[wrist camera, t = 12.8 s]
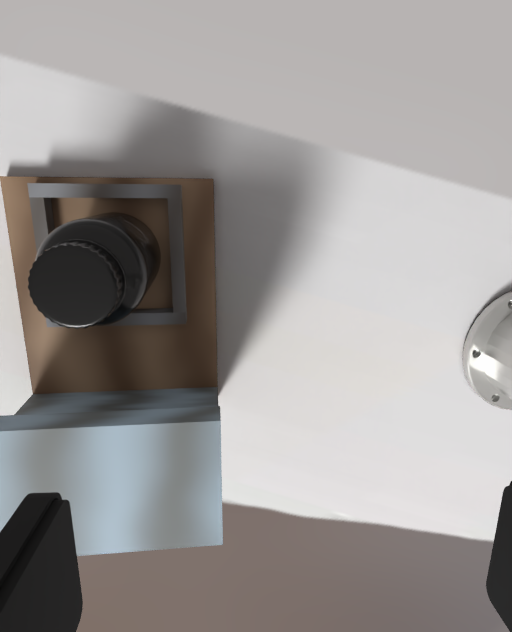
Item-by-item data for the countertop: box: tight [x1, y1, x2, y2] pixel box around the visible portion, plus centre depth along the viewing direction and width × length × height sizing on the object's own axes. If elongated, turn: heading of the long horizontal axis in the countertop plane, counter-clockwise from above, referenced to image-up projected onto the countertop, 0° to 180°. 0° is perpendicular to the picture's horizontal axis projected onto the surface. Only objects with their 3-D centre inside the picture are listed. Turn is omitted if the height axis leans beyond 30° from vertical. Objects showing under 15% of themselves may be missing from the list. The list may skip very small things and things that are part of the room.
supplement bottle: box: [28, 212, 161, 329], centre depth 28 cm, size 7×7×12 cm
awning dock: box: [0, 176, 223, 556], centre depth 28 cm, size 16×20×18 cm
